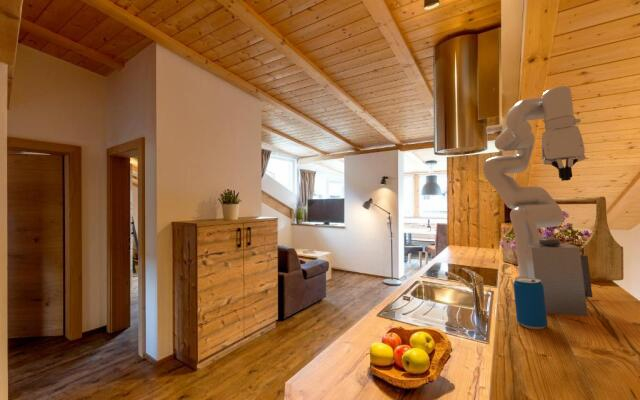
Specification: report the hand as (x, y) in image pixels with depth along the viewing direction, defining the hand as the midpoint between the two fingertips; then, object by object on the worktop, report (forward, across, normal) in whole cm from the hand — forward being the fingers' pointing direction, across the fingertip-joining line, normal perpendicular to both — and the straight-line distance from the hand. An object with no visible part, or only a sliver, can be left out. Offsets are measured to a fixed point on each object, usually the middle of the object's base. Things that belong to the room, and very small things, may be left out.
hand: (566, 180), depth 92 cm
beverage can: (+39, +17, +26) cm, 50 cm away
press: (+39, +7, +9) cm, 41 cm away
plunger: (+38, +8, +9) cm, 39 cm away
